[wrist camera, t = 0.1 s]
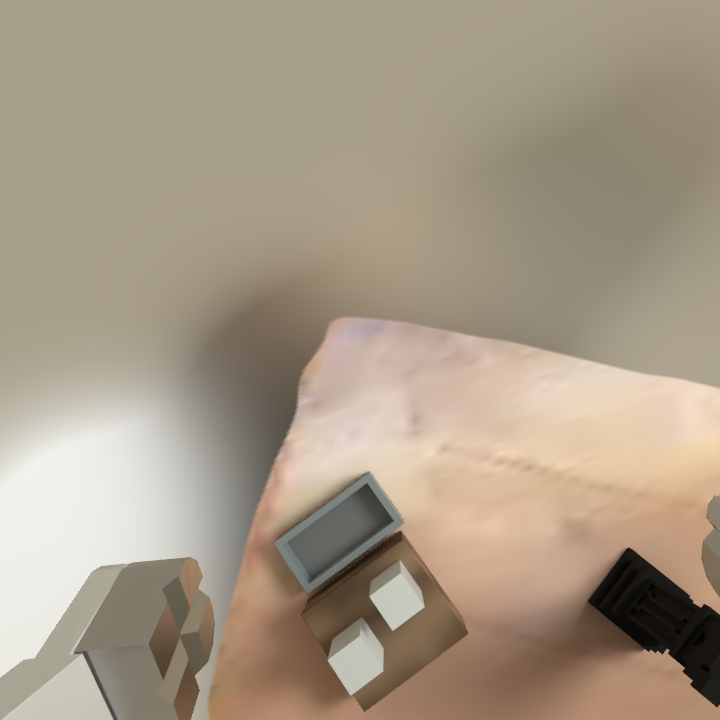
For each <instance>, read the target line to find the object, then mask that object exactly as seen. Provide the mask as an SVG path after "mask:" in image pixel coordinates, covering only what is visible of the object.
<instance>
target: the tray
mask: <svg viewBox="0 0 720 720" xmlns="http://www.w3.org/2000/svg"><path fill="white" fill-rule="evenodd" d="M403 523H404V522H403V518H402V517H401V515H400V514H399V512H398V511H397V510H396V508H395V507H394V505H393V504H392V502H391V501H390V500H389V498H388V497H387V495H386V494H385V493H384V491H383V490H382V488H381V487H380V486H379V484H378V483H377V481H376V480H375V478H374V477H373V476H372V474H371V473H370V471H369V472H368V473H367V474H365V475H364V476H363V477H361V478H360V479H358V480H357V481H356V482H354V483H353V484H352V485H350V486H349V487H348V488H346V489H345V490H343V491H342V492H341V493H339V494H338V495H337V496H335V497H334V498H333V499H331V500H330V501H328V502H327V503H326V504H324V505H323V506H322V507H320V508H319V509H318V510H316V511H315V512H314V513H312V514H311V515H309V516H308V517H307V518H305V519H304V520H303V521H301V522H300V523H299V524H297V525H296V526H294V527H293V528H292V529H290V530H289V531H288V532H286V533H285V534H284V535H282V536H281V537H279V538H278V539H277V540H276V541H275V542H274V543H273V544H274V545H275V547H276V548H277V550H278V551H279V553H280V554H281V556H282V557H283V559H284V560H285V562H286V563H287V565H288V566H289V568H290V569H291V571H292V572H293V574H294V576H295V577H296V579H297V580H298V582H299V583H300V585H301V586H302V588H303V589H304V591H305V592H306V594H308V593H310V592H311V591H312V590H314V589H315V588H316V587H318V586H319V585H320V584H322V583H323V582H324V581H326V580H327V579H329V578H330V577H331V576H333V575H334V574H335V573H337V572H338V571H339V570H341V569H342V568H343V567H345V566H346V565H347V564H349V563H350V562H351V561H353V560H354V559H356V558H357V557H358V556H360V555H361V554H362V553H364V552H365V551H366V550H368V549H369V548H370V547H372V546H373V545H374V544H376V543H377V542H378V541H380V540H381V539H383V538H384V537H385V536H387V535H388V534H389V533H391V532H392V531H393V530H395V529H396V528H397V527H399V526H400V525H401V524H403Z"/></svg>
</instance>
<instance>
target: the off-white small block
mask: <svg viewBox="0 0 720 720" xmlns="http://www.w3.org/2000/svg"><path fill="white" fill-rule="evenodd" d="M383 655H384V648H383V647H382V646H381V644H380V643H379V641H378V640H377V638H376V637H375V635H374V634H373V632H372V631H371V629H370V628H369V626H368V625H367V623H366V622H365V620H364V619H363V617H361V618H360V619H359V620H357V621H356V622H355V623H353V624H352V625H351V626H349V627H348V628H347V629H345V630H344V631H342V632H341V633H340V634H338V635H337V636H336V637H334V638H333V640H332V644H331V648H330V652H329V656H328V662H329V663H330V665H331V666H332V668H333V670H334V671H335V673H336V674H337V676H338V677H339V679H340V680H341V682H342V683H343V685H344V686H345V688H346V689H347V691H348V693H349V694H350V696H351V695H352V694H354V693H355V692H356V691H358V690H359V689H360V688H362V687H363V686H364V685H366V684H367V683H368V682H370V681H371V680H372V679H374V678H375V677H376V676H378V675H379V674H380V673H382V672H383Z"/></svg>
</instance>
